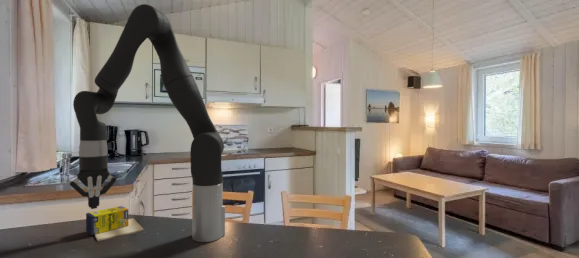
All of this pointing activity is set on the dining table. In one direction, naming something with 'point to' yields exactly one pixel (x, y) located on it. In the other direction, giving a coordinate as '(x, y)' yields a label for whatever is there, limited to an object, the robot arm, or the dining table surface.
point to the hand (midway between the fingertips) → (93, 208)
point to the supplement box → (106, 220)
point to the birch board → (120, 231)
